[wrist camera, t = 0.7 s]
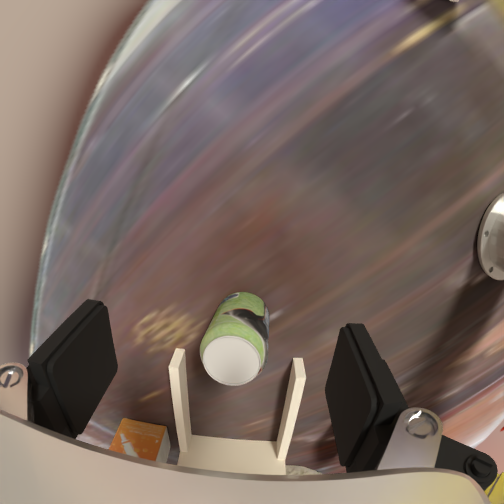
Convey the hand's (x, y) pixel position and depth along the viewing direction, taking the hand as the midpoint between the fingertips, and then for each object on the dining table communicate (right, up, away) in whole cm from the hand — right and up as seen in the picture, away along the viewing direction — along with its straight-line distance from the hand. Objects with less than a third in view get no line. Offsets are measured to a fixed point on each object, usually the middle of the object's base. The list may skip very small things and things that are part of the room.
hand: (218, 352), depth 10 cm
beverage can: (0, -3, +26) cm, 26 cm away
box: (-1, -19, +31) cm, 37 cm away
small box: (-17, -27, +35) cm, 47 cm away
